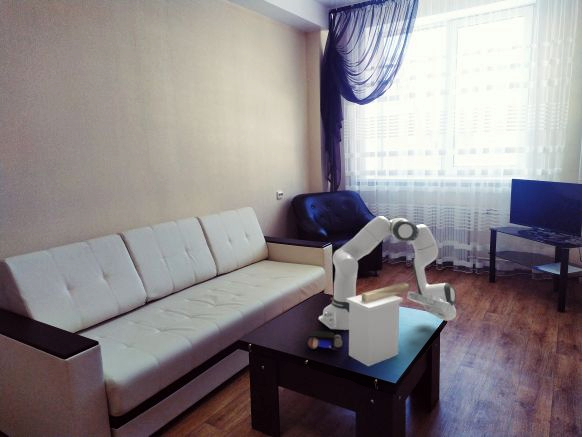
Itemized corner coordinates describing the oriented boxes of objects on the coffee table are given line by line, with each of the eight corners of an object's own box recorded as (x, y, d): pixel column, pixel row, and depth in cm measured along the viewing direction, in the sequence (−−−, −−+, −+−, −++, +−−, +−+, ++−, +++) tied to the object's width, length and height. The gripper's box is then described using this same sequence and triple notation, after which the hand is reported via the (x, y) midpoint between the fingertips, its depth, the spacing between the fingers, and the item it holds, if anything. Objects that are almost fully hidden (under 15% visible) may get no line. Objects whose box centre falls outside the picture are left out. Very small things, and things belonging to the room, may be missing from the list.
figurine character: (340, 347, 196) (307, 343, 197) (342, 332, 195) (309, 328, 196) (340, 354, 189) (307, 350, 190) (342, 338, 188) (309, 334, 189)
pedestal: (345, 355, 186) (346, 298, 182) (378, 343, 197) (379, 289, 193) (368, 368, 174) (369, 307, 170) (401, 354, 185) (402, 298, 181)
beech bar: (361, 300, 180) (361, 293, 179) (403, 288, 194) (403, 282, 193) (366, 302, 177) (366, 295, 177) (408, 290, 191) (408, 284, 191)
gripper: (418, 293, 215) (402, 284, 207) (453, 304, 198) (438, 295, 190) (414, 305, 214) (398, 296, 206) (449, 317, 197) (433, 308, 189)
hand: (417, 296), depth 198 cm, fingers open, 8 cm apart
